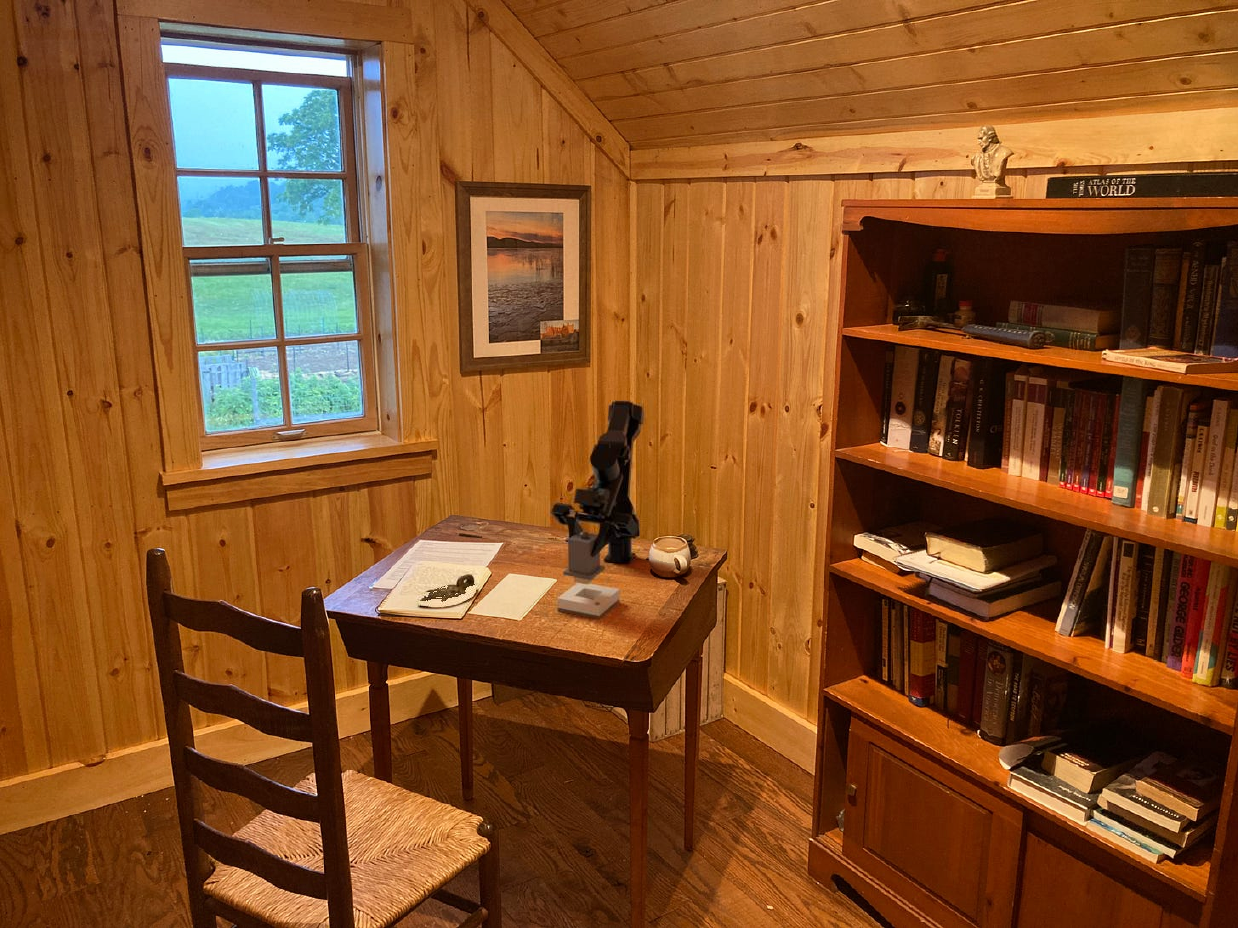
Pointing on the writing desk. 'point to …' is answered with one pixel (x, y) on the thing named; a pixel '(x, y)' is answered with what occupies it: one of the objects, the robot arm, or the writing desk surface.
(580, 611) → the socket
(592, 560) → the grey block with knob
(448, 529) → the writing desk surface
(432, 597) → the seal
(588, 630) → the writing desk surface
